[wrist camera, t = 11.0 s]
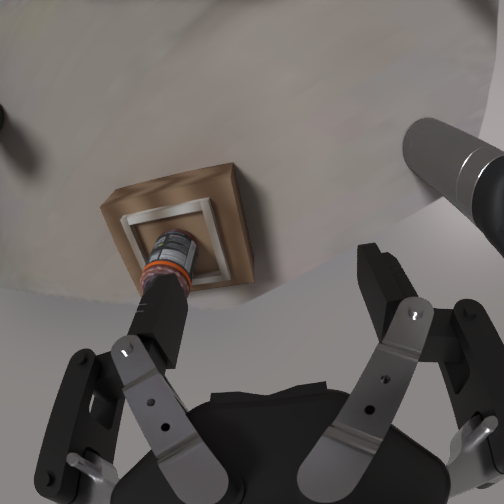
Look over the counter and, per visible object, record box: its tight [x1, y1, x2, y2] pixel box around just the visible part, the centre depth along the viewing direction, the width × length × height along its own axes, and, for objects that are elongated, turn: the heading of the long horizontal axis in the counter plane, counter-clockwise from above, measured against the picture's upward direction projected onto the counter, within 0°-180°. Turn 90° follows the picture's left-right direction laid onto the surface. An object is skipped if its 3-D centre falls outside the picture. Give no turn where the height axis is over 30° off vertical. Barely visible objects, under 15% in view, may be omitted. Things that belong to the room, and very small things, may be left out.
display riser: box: [100, 162, 254, 297], centre depth 42 cm, size 18×16×7 cm
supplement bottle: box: [140, 229, 199, 299], centre depth 36 cm, size 6×6×11 cm
